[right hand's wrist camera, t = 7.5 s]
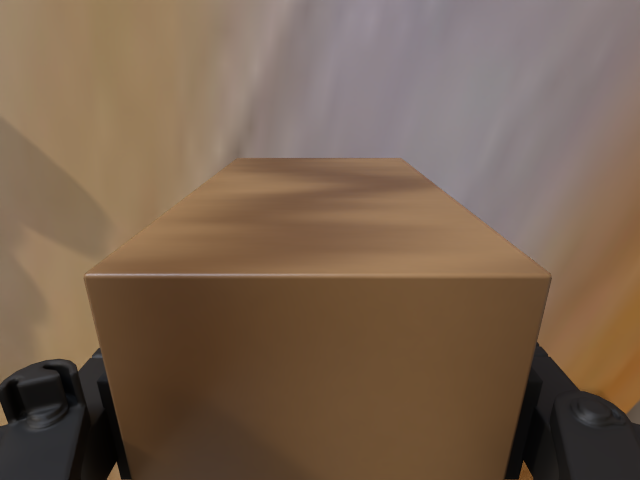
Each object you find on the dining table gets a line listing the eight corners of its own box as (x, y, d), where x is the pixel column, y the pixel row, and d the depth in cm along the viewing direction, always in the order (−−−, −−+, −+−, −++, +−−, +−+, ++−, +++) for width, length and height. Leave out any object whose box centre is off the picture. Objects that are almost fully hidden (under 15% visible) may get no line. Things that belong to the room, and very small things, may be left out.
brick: (401, 157, 17) (554, 274, 6) (390, 312, 20) (480, 589, 9) (236, 157, 17) (79, 274, 6) (248, 312, 20) (155, 588, 9)
